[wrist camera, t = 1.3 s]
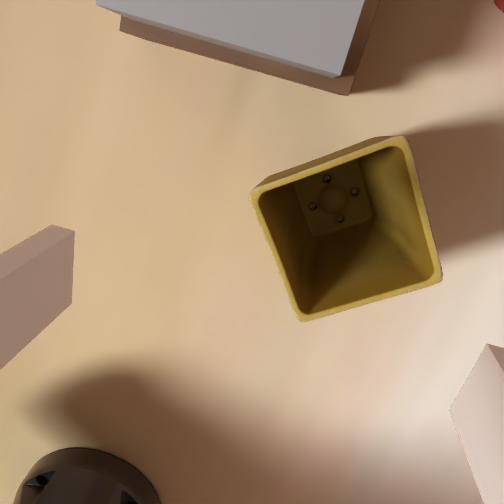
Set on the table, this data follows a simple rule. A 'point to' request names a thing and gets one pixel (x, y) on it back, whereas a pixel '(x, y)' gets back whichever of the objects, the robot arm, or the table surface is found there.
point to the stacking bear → (500, 4)
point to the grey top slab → (258, 27)
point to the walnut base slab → (333, 85)
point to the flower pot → (349, 228)
